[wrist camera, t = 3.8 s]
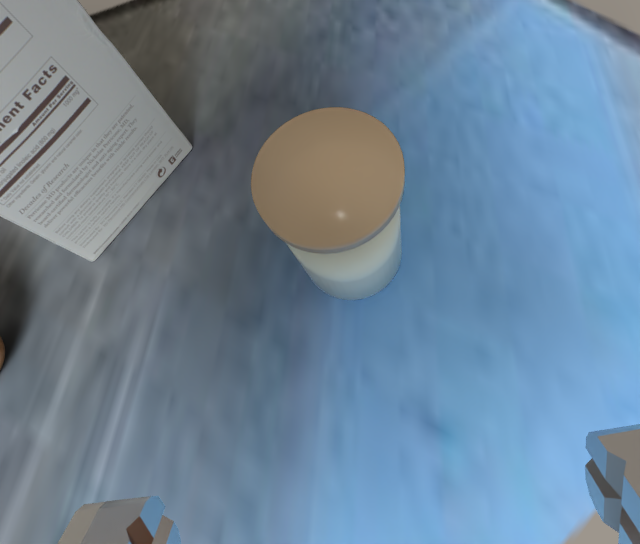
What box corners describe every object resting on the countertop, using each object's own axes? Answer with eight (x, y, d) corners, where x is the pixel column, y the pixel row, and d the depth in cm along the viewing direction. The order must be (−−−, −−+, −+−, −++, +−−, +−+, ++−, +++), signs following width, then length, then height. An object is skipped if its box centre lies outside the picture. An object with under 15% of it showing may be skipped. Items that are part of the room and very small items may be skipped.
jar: (283, 279, 23) (224, 213, 16) (328, 191, 24) (293, 91, 17) (378, 321, 22) (363, 269, 14) (422, 225, 23) (429, 131, 15)
